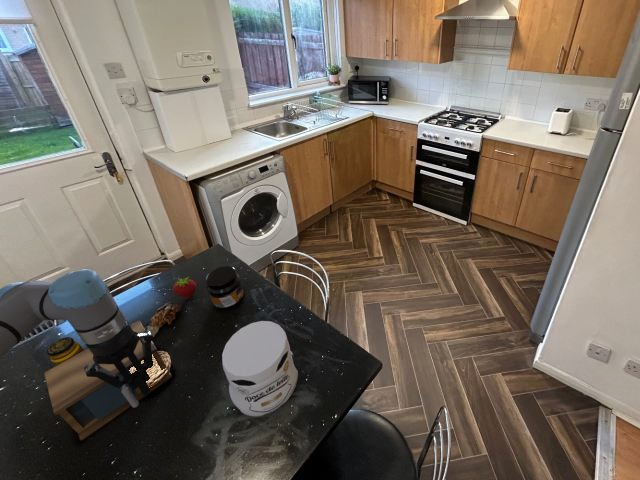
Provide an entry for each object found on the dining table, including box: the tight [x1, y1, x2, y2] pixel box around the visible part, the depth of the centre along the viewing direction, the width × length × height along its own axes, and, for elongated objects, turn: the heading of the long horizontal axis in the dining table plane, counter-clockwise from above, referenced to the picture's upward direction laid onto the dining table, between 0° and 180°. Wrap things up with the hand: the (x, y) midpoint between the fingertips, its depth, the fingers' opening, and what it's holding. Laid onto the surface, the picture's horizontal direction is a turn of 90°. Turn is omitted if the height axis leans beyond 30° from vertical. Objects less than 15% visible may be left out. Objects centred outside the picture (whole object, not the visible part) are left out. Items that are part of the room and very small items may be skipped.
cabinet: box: [43, 320, 173, 441], centre depth 82 cm, size 14×20×13 cm
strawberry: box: [172, 275, 197, 300], centre depth 111 cm, size 6×8×10 cm
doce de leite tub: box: [221, 320, 299, 417], centre depth 82 cm, size 17×17×18 cm
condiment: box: [46, 336, 86, 367], centre depth 87 cm, size 7×8×12 cm
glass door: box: [81, 370, 141, 421], centre depth 77 cm, size 5×9×10 cm, turn 140°
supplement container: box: [205, 265, 245, 311], centre depth 110 cm, size 10×10×12 cm
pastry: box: [144, 302, 181, 338], centre depth 103 cm, size 7×12×4 cm, turn 174°
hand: (145, 390), depth 80 cm, fingers closed
